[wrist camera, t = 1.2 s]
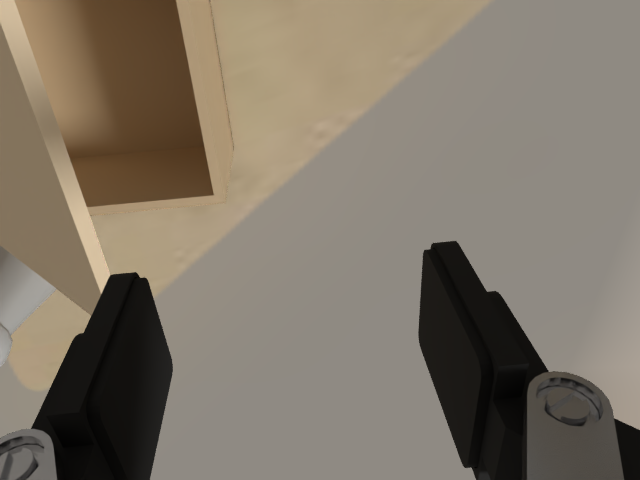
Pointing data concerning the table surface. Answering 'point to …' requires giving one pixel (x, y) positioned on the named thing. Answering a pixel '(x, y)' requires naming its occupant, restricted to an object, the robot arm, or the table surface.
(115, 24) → the carton
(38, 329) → the table surface
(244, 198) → the table surface
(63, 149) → the flap
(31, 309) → the salt shaker
